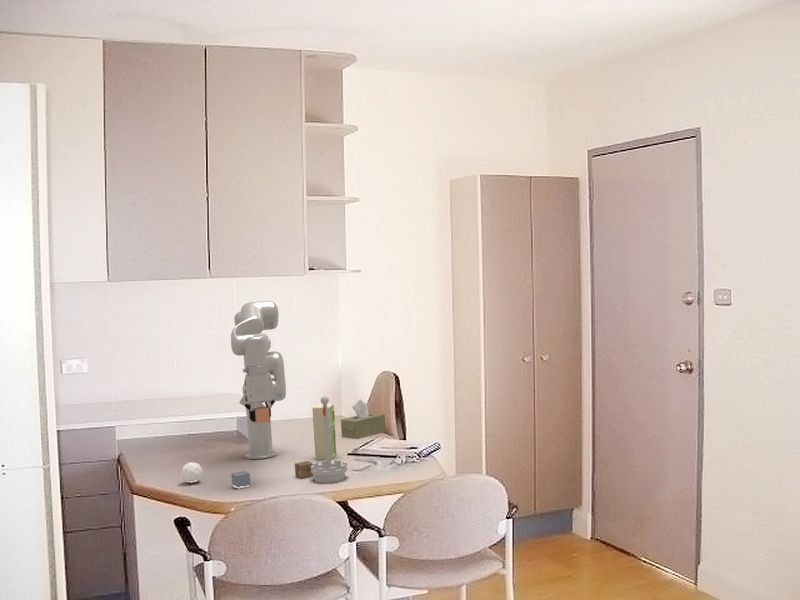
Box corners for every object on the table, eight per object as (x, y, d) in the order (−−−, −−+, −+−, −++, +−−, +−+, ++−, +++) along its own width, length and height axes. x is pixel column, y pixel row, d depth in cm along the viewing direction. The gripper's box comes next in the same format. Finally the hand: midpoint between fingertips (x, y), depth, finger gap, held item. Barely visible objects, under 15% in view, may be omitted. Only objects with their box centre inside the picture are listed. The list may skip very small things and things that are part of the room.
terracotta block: (251, 421, 329) (250, 408, 328) (264, 419, 331) (263, 406, 331) (256, 423, 324) (255, 409, 324) (269, 421, 327) (268, 407, 326)
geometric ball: (187, 491, 331) (174, 473, 332) (204, 478, 336) (191, 462, 337) (192, 484, 326) (179, 466, 327) (209, 472, 331) (196, 454, 332)
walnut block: (295, 476, 332) (294, 463, 332) (308, 474, 334) (307, 460, 334) (300, 479, 328) (299, 465, 327) (313, 476, 330) (312, 463, 330)
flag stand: (315, 475, 332) (310, 394, 331) (350, 473, 331) (345, 392, 329) (308, 484, 319) (302, 400, 318) (344, 482, 318) (339, 398, 316)
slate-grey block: (232, 487, 322) (231, 473, 322) (245, 484, 325) (244, 470, 324) (237, 489, 318) (236, 475, 317) (250, 487, 320) (249, 473, 320)
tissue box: (371, 429, 413) (368, 395, 412) (386, 431, 407) (384, 396, 406) (341, 437, 400) (338, 402, 399) (356, 439, 393) (354, 403, 392)
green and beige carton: (333, 460, 355) (329, 407, 354) (315, 460, 357) (311, 407, 356) (338, 455, 363) (335, 403, 362) (321, 455, 364) (317, 404, 363)
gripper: (238, 374, 319) (241, 424, 320) (283, 368, 328) (286, 418, 329) (231, 372, 326) (234, 422, 327) (275, 366, 334) (278, 415, 335)
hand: (260, 419), depth 328 cm, fingers closed on terracotta block, 5 cm apart
